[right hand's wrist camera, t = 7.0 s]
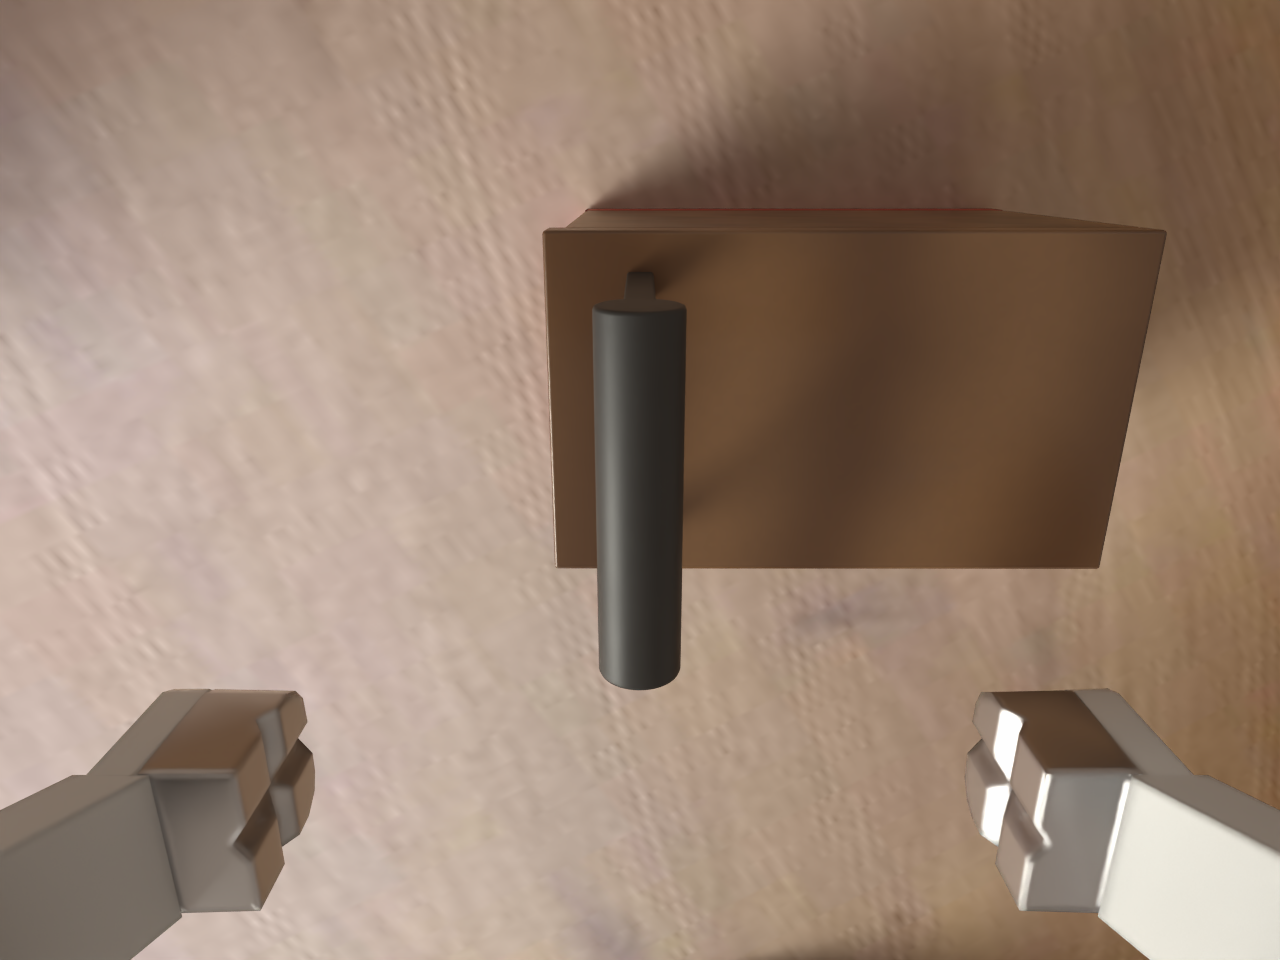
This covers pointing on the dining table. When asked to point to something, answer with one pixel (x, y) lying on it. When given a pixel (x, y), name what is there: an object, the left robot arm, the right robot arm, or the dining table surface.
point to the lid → (832, 404)
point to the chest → (824, 219)
